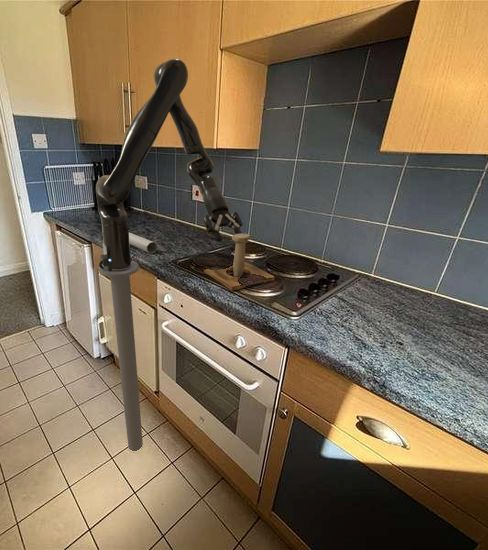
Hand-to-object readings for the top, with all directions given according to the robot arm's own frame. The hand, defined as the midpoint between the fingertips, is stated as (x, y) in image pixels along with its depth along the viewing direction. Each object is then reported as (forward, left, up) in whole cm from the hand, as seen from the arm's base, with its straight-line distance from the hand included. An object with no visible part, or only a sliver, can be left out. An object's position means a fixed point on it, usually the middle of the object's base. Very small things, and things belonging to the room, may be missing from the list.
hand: (230, 239), depth 109 cm
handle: (0, -6, -12) cm, 14 cm away
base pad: (0, -6, -12) cm, 13 cm away
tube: (-21, +43, -12) cm, 50 cm away
